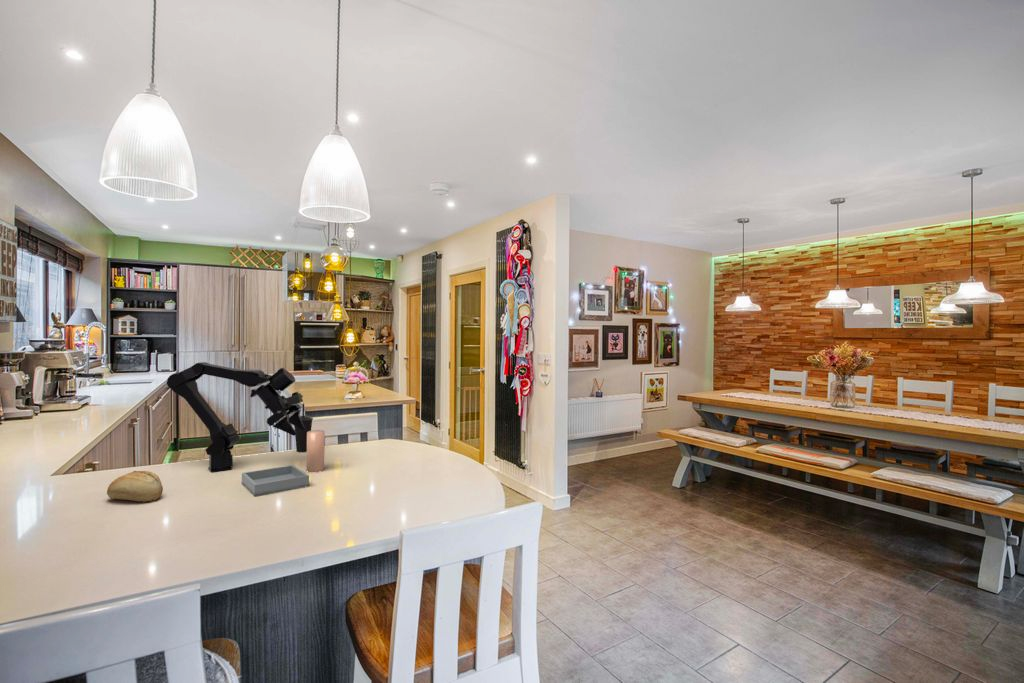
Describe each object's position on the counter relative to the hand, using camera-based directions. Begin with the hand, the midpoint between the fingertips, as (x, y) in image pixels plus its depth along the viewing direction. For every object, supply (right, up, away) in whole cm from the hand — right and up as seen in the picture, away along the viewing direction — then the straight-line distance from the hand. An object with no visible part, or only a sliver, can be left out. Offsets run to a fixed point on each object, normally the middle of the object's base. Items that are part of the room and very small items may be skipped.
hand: (299, 432), depth 174 cm
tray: (+1, -14, -19) cm, 23 cm away
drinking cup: (-10, -13, +26) cm, 31 cm away
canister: (+6, -14, -2) cm, 15 cm away
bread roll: (-33, -13, -34) cm, 49 cm away
